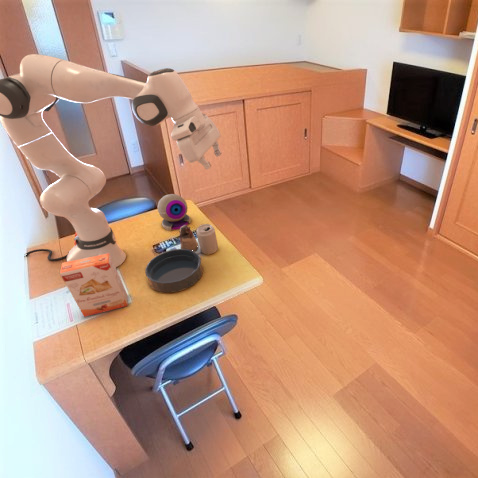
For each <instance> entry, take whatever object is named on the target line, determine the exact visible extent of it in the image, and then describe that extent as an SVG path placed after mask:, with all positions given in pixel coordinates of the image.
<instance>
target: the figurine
mask: <svg viewBox="0 0 478 478" xmlns="http://www.w3.org/2000/svg"><path fill="white" fill-rule="evenodd" d="M178 232H179V235H178V237H179V242H180V249H188V250H193V251H194V252H196V251H197V250H198V249H199V242H198V240H197V239H196V236H195V235H194V233H193V231H192V229H191V226H188V224H187V225H183V226H182V227H181V228H180V229H179V231H178ZM197 246H198V247H197Z"/></svg>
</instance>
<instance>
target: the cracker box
mask: <svg viewBox="0 0 478 478" xmlns="http://www.w3.org/2000/svg"><path fill="white" fill-rule="evenodd" d="M60 266H61V267H60V272H59V274H60V276H61V278H62V280H63V281H64V283H65V285H66V287H67V289H68V291H69V293H70V294H71V296H72V298H73V299H74V301H75V304H76V305H77V307H78V309H79V310H80V312H81V314H82V316H83V317H84V318H86V317H91V316H93V315H98V314H101V313H104V312H105V313H106V312H109V311H113V310H116V309H120V308H125V307H128V305H129V304H128V301H129V300H128V299H129V298H128V297H129V296H128V293H127V290H126V288H125V286H124V283H123V281H122V279H121V276H120V274H119V272H118V269H117V267H115V265H114V262H113V260H112V258H111V255H110V253H108V254H103V255H98V256H93V257H88V258H84V259H79V260H74V261H69V262H67V261H65V262H62V263H61V265H60Z"/></svg>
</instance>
